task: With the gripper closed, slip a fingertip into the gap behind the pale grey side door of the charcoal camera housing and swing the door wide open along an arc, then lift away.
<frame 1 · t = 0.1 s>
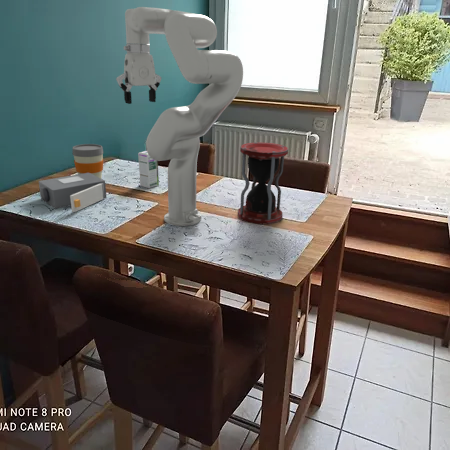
hand: (140, 102, 151), 37 cm above the table, tool pointing down, fingers open, 9 cm apart
reusable coffee cup: (90, 181, 187), on the table
camera housing: (74, 198, 166), on the table
side door: (89, 197, 157), point 4 cm above the table, hinge at 25.0°
hourglass: (259, 216, 154), on the table
syrup box: (149, 185, 184), on the table
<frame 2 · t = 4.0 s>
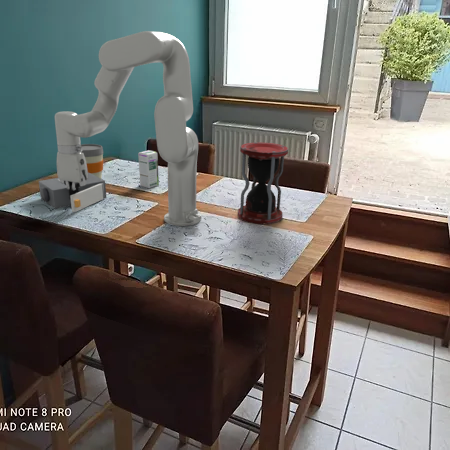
hand: (74, 199, 154), 3 cm above the table, tool pointing down, fingers closed
side door: (89, 197, 157), point 4 cm above the table, hinge at 25.2°, touching gripper
everything else where it was.
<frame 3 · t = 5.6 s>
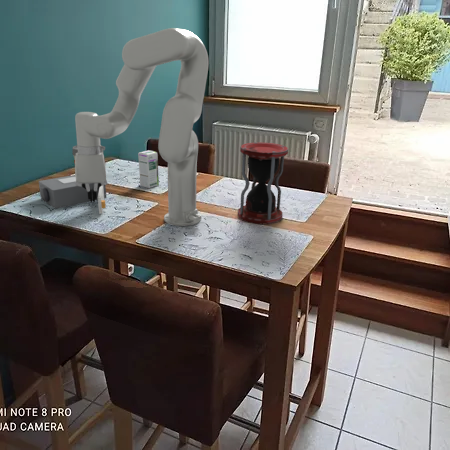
hand: (92, 200, 152), 4 cm above the table, tool pointing down, fingers closed
side door: (102, 197, 157), point 4 cm above the table, hinge at 60.5°, touching gripper
everything else where it was.
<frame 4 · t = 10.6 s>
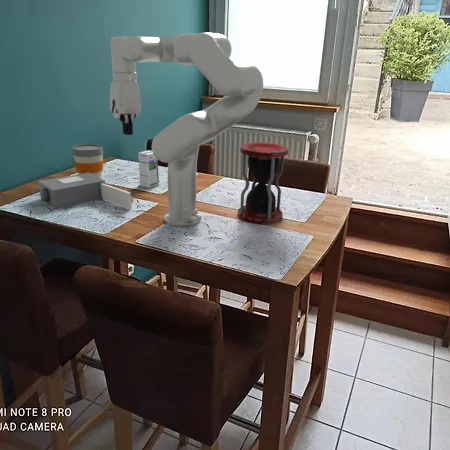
hand: (128, 134, 147), 27 cm above the table, tool pointing down, fingers closed
side door: (116, 195, 160), point 4 cm above the table, hinge at 99.4°
everything else where it was.
at the end: side door at +99° (first picture: +25°); syrup box moved 0.2 cm from its start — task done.
